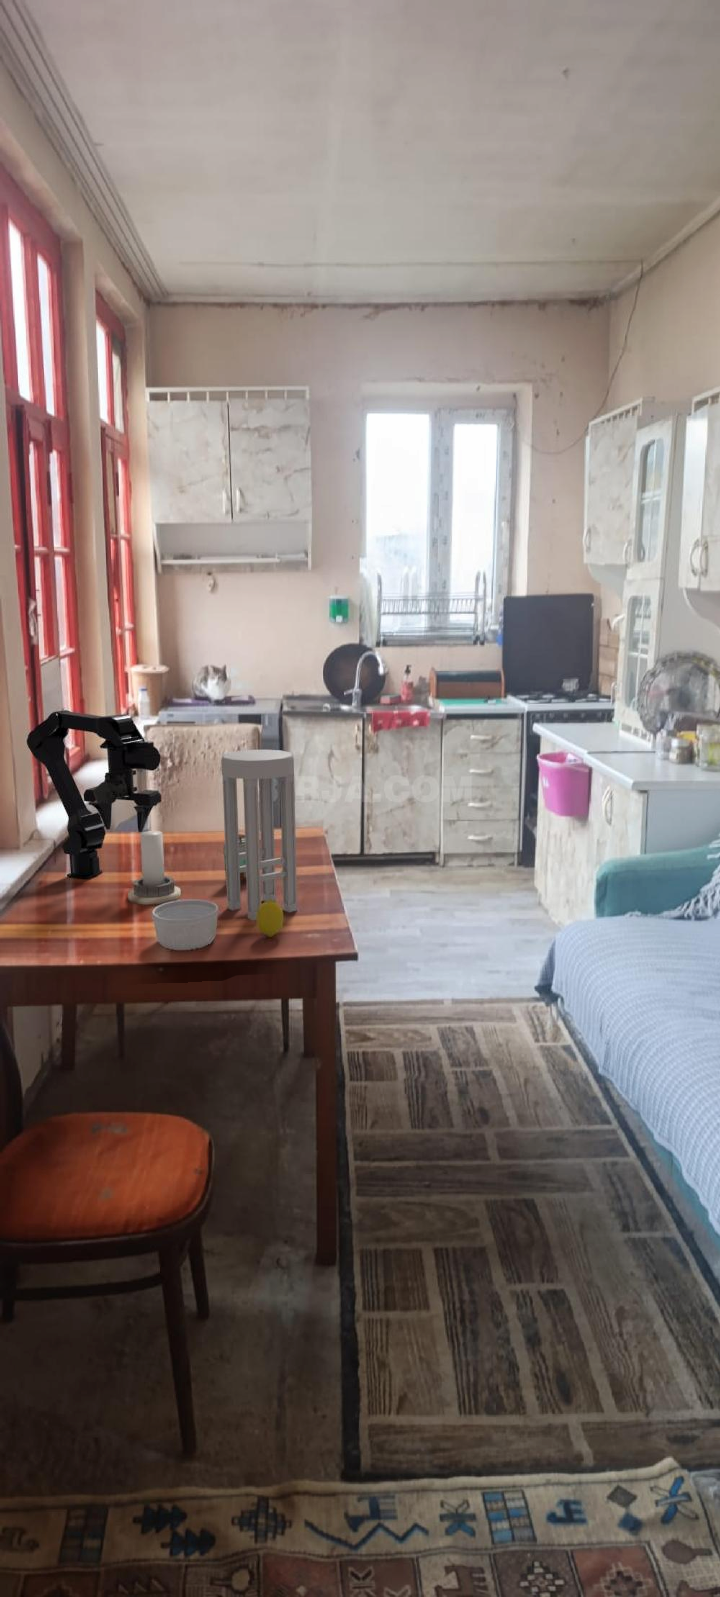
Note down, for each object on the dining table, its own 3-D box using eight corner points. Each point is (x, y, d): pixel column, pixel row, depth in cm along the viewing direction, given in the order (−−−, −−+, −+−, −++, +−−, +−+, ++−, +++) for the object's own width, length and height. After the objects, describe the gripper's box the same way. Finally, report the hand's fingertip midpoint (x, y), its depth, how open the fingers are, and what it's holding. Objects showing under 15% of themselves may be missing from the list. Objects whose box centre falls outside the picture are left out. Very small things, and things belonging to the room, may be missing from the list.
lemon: (257, 933, 206) (256, 896, 204) (283, 932, 206) (282, 895, 205) (256, 942, 200) (255, 904, 199) (284, 941, 201) (283, 903, 199)
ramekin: (182, 958, 192) (180, 923, 191) (140, 943, 201) (138, 910, 199) (232, 940, 202) (231, 907, 201) (190, 926, 210) (189, 895, 209)
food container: (248, 887, 239) (247, 846, 237) (224, 885, 240) (222, 845, 238) (263, 873, 250) (262, 834, 248) (240, 872, 252) (239, 833, 250)
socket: (117, 901, 228) (117, 885, 227) (147, 887, 239) (146, 872, 238) (162, 906, 224) (162, 891, 223) (190, 892, 235) (189, 877, 234)
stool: (214, 907, 223) (208, 753, 216) (273, 894, 232) (269, 747, 225) (249, 925, 211) (244, 762, 204) (310, 911, 220) (307, 755, 213)
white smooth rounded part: (138, 893, 230) (134, 835, 227) (150, 887, 235) (147, 829, 232) (157, 896, 228) (154, 836, 225) (170, 889, 233) (167, 831, 230)
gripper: (67, 770, 234) (71, 835, 237) (134, 775, 227) (138, 841, 230) (95, 763, 244) (99, 825, 247) (161, 767, 237) (164, 830, 240)
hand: (124, 830), depth 241 cm, fingers open, 9 cm apart
